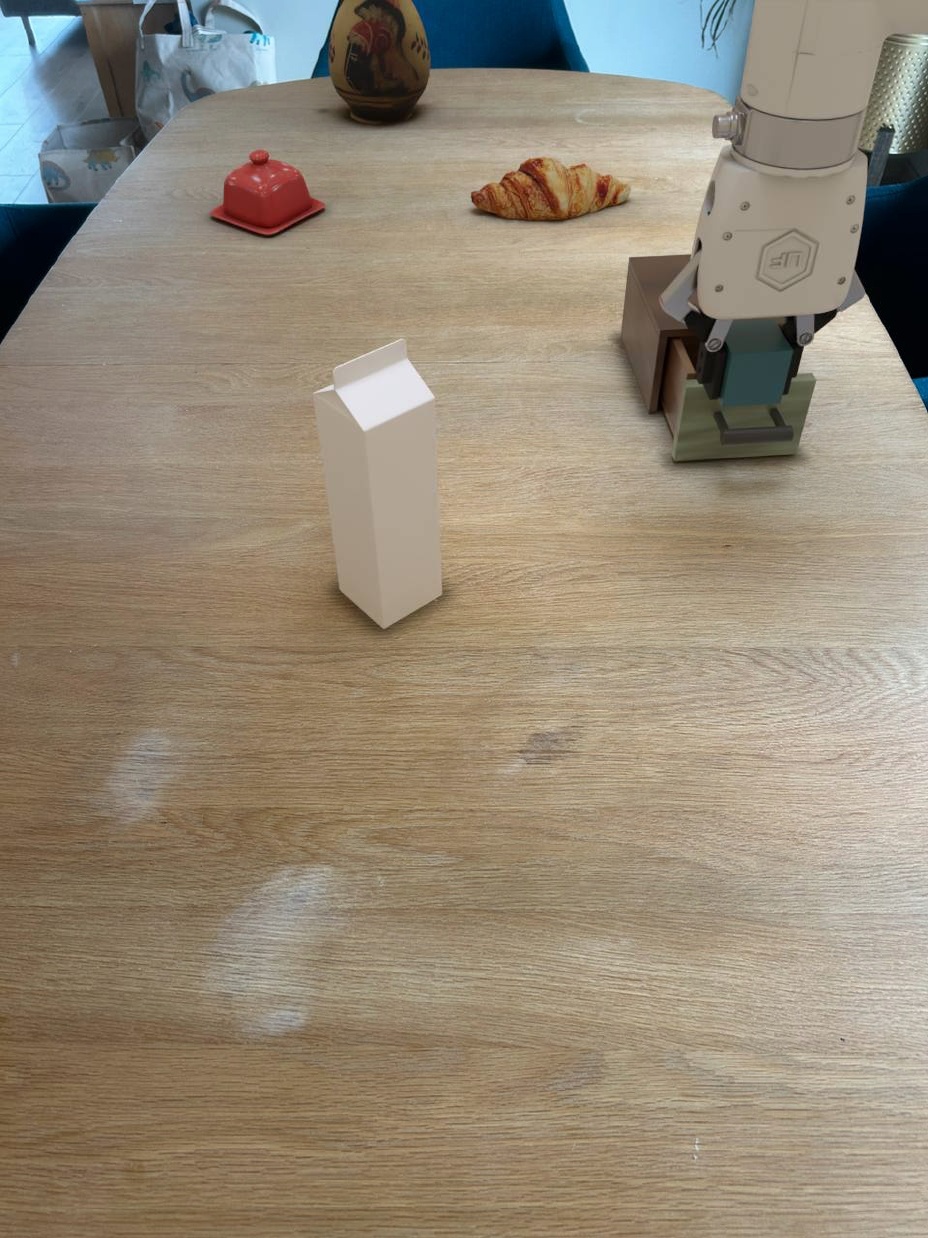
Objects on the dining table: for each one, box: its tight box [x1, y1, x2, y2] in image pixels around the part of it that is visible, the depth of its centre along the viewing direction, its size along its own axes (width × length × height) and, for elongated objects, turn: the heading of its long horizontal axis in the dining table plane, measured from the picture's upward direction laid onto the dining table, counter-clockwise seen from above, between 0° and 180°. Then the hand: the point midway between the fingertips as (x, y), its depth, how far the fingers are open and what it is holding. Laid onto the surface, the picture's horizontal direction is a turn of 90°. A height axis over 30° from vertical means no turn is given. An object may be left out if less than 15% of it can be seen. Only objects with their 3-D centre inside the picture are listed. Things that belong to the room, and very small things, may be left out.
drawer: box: [659, 336, 817, 462], centre depth 92 cm, size 18×11×8 cm, turn 5°
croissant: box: [470, 156, 632, 222], centre depth 130 cm, size 21×10×8 cm, turn 100°
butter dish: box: [209, 149, 326, 236], centre depth 128 cm, size 12×12×8 cm
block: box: [718, 320, 793, 408], centre depth 73 cm, size 4×4×4 cm
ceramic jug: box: [328, 0, 431, 126], centre depth 146 cm, size 17×15×30 cm
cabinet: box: [620, 253, 785, 415], centre depth 100 cm, size 15×13×10 cm
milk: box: [312, 338, 443, 630], centre depth 73 cm, size 6×6×22 cm
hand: (743, 385), depth 74 cm, fingers closed on block, 4 cm apart
